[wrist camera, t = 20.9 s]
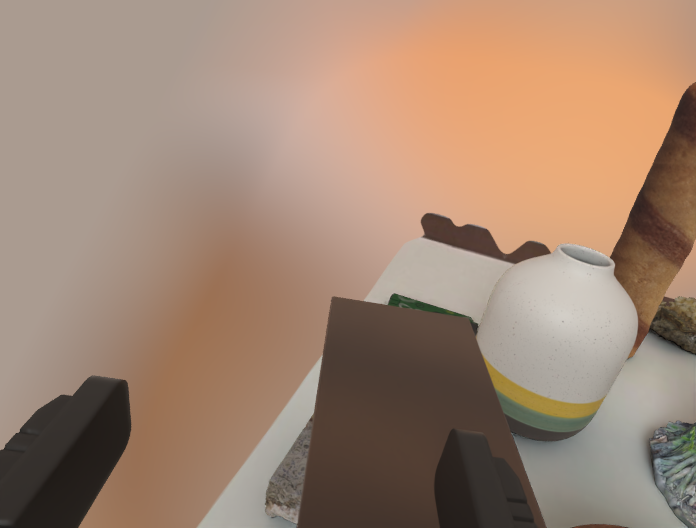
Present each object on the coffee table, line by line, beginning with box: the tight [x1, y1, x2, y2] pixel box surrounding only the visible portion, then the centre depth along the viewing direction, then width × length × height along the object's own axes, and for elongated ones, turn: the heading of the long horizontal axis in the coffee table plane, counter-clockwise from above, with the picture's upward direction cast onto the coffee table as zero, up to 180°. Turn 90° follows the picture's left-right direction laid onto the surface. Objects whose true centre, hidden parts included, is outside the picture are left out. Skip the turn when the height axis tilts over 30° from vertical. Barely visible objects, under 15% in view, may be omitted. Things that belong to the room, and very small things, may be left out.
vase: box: [476, 244, 638, 441], centre depth 56 cm, size 17×17×24 cm
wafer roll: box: [610, 82, 696, 358], centre depth 70 cm, size 10×11×45 cm
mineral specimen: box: [650, 296, 696, 354], centre depth 83 cm, size 14×13×10 cm
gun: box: [388, 293, 478, 337], centre depth 76 cm, size 16×1×10 cm
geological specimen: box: [265, 414, 314, 524], centre depth 45 cm, size 11×6×15 cm
